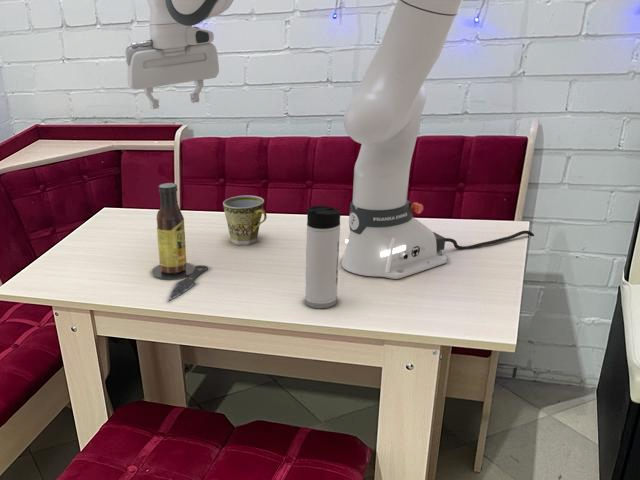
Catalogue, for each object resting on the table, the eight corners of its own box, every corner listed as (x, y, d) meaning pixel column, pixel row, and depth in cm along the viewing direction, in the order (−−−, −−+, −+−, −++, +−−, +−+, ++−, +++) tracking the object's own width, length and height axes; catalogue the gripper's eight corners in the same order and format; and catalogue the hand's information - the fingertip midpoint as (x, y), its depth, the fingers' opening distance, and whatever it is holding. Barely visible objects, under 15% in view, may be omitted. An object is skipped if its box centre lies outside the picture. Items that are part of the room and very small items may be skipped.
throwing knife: (212, 268, 174) (211, 266, 174) (178, 303, 159) (177, 300, 159) (194, 267, 176) (194, 264, 176) (159, 301, 161) (159, 298, 161)
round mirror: (186, 260, 180) (186, 259, 179) (201, 274, 171) (200, 273, 171) (146, 268, 178) (146, 266, 177) (159, 283, 169) (159, 281, 169)
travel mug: (297, 300, 154) (299, 206, 144) (325, 293, 156) (328, 199, 146) (314, 311, 149) (317, 214, 139) (342, 304, 151) (347, 207, 141)
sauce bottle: (184, 275, 171) (179, 189, 161) (158, 275, 172) (151, 190, 162) (188, 264, 176) (183, 180, 166) (162, 264, 178) (156, 181, 168)
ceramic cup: (216, 241, 189) (214, 202, 184) (246, 230, 193) (245, 192, 188) (250, 253, 179) (249, 213, 174) (281, 242, 184) (281, 202, 179)
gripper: (128, 44, 154) (134, 114, 161) (220, 32, 158) (222, 100, 165) (120, 42, 159) (126, 110, 166) (209, 30, 163) (212, 96, 170)
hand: (175, 105), depth 165 cm, fingers open, 8 cm apart
